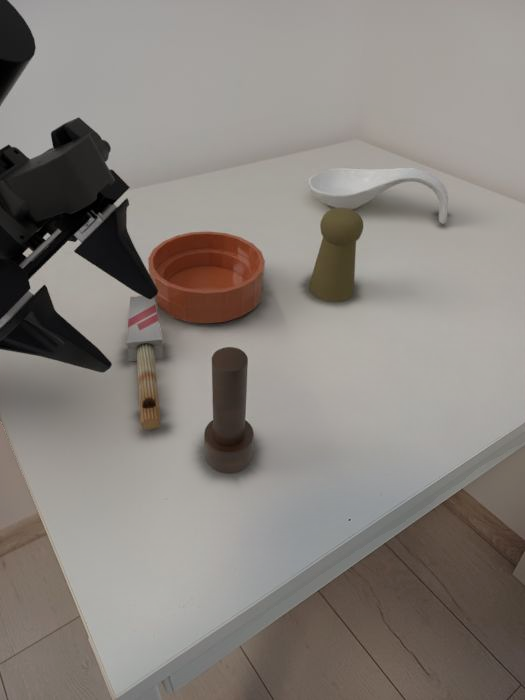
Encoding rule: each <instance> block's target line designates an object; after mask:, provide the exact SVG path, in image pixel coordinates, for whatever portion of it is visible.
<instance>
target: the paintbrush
mask: <svg viewBox="0 0 525 700" xmlns="http://www.w3.org/2000/svg"><path fill="white" fill-rule="evenodd" d="M129 298H130V299H129V308H128V319H127V332H126V347H127V356H128V362H137V380H138V395H139V396H138V398H139V413H140V414H139V415H140V416H139V417H140V426H141V428H142V429H144V430H147V431H151V430H156V429H157V428H159V427H160V426H161V424H162V418H161V410H160V401H159V399H160V398H159V389H158V379H157V368H156V359H163V358H164V357H165V356H164V349H163V341H164V340H163V334H162V330H161V325H160V320H159V314H158V310H157V304H156V303H155V299H154V298H152V299H147V298H146V297H144V296H142V295H139V296H130V297H129Z"/></svg>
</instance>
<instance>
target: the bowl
mask: <svg viewBox="0 0 525 700" xmlns="http://www.w3.org/2000/svg"><path fill="white" fill-rule="evenodd" d="M147 261H148V262H147V263H148V273H149V275H150V276H151V278H152V280H153V282H154V284H155V286H156V287H157V289H158V294H157V295H156V296H155V297H154V299H155V304H156V307H158V308H159V309H160V310H161V311H163V312H164V313H166V314H167V315H169V316H171V317H173V318H176V319H179V320H182V321H184V322H189V323H198V324H214V323H215V324H217V323H225V322H228V321H232V320H235V319H239V318H241V317H243V316H244V315H246V314H248V313H250V312H251V311H253V310H254V309H255V308H256V307H257V306H258V305H259V303H260V302H261V300H262V298H263V292H264V281H265V265H266V260H265V258H264V255H263V252H262V250H260V249H259V248H258V247H257V246H256V245H255V244H254V243H252V242H251V241H249V240H247V239H244V238H243V237H241V236H239V235H234V234H230V233H226V232H219V231H192V232H187V233H183V234H178V235H175V236H173V237H170V238H168V239H165V240H163V241H162V242H160V243H159V244H158V245H157V246H156V247H154V248H153V249H152V251H151V253H150V255H149V256H148V259H147Z"/></svg>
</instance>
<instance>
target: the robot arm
mask: <svg viewBox="0 0 525 700" xmlns="http://www.w3.org/2000/svg"><path fill="white" fill-rule="evenodd" d="M36 48H37V46H36V41H35V37H34V35H33V32H32V30H31V28H30V26H29V25H28V23H27V21H26V20H25V18H24V17H23V15H21V13H20V12H19V10H17V8H16V7H15V6H14V5H13V4H12V3H11V2H10V1H9V0H0V107H2V104H3V103H4V102H5V100H6V98H7V97H8V95H9V94H10V93H11V91H12V89H13V88H14V86H15V85H16V83H17V82H18V80H19V78H20V77H21V76H22V74H23V72H24V71H25V69H26V68H27V67H28V65H29V63H30V62H31V61H32V59H33V57H34V56H35V53H36ZM50 137H51V143H52V147H51V148H49V149H47V150H46V151H44V152H43V153H41V154H39V155H37V156H34V157H32V158H29V157H28V156H27V155H25V153H23V152H22V150H20V149H19V148H18V147H15V146H12V145H10V144H7V145H5V146H4V147H2V148H0V350H2V351H7V352H12V353H13V352H14V353H19V354H25V355H31V356H36V357H41V358H44V359H48V360H54V361H56V362H61V363H64V364H67V365H72V366H75V367H79V368H82V369H87V370H90V371H94V372H98V373H106V372H107V371H108V370H109V369H111V367H112V365H113V363H112V361H111V360H110V359H109V358H108V357H107V356H106V355H105V354H104V352H103V351H101V349H99V347H97V346H96V345H95V344H94V343H93V342H91V341H90V340H89V339H88V338H87V337H86V336H84V335H83V333H82V332H80V331H79V330H77V328H76V327H74V326H73V325H72V324H71V323H70V322H68V320H66V318H64V317H63V316H62V315H61V314H59V313H58V312H57V310H56V308H55V306H54V304H53V300H52V298H51V295H50V292H49V289H48V287H47V285H46V284H43V285H42V286H41V287H40V288H39V289H38V290H36V292H35V293H32V292H31V291H30V290H31V284H30V279H31V278H32V277H33V276H34V275H36V273H37V272H38V271H39V270H40V269H42V267H43V266H44V265H46V264H47V262H48V261H49V260H51V258H53V256H55V255H56V254H57V252H59V250H61V249H62V248H63V246H64V245H66V243H68V242H72V243H76V242H77V241H79V242H80V244H79V245H78V246H77V247H76V248H75V249H74V250H73V252H74V253H75V254H77V256H79V257H81V258H82V259H84V260H85V261H87V262H89V263H90V264H92V265H93V266H95V267H96V268H98V269H99V270H101V271H102V272H104V273H105V274H107V275H108V276H110V277H111V278H113V279H114V280H116V281H117V282H119V283H120V284H123V285H124V286H125V287H127V288H128V289H130V290H131V291H133V292H134V293H137V294H138V295H139V296H144V297H146V298H147V299H152V298H154V297H155V296H156V295H157V294H158V289H157V287H156V286H155V284H154V282H153V280H152V278H151V276H150V275H149V270H148V269H147V267H146V265H145V263H144V262H143V260H142V258H141V256H140V255H139V252H138V251H137V249H136V247H135V245H134V242H133V240H132V239H131V235H130V234H129V231H128V228H127V226H128V225H127V220H128V219H127V218H128V217H127V216H128V215H127V214H128V213H127V211H128V207H130V200H129V199H128V197H126V198H125V199H124V200H123V201H122V202H121V203H120V204H119V205H118V206H117V205H116V204H115V203H117V201H118V200H119V199H120V198H121V197H122V196H123V195H124V194H125V193H126V192H127V191H128V190H129V189H130V186H129V185H128V183H126V182H125V180H124V179H122V178H121V176H120V175H119V174H117V172H116V171H115V170H114V169H110V168H109V167H108V165H107V163H106V162H107V161H108V160H109V156H110V152H111V149H112V147H111V145H110V143H109V142H108V141H107V140H105V139H102V136H100V134H99V133H98V132H96V130H95V129H93V128H92V127H91V126H90V125H89V124H88V123H86V121H84V120H83V119H82V118H81V117H79V116H78V117H76V118H74V119H71V120H69V121H67V122H64V123H63V124H62V125H60V126H58V127H56V128H55V129H54V130H51V132H50ZM47 234H48V235H49V236H48V237H47V238H46V239H45V238H44V237H45V236H46V235H47ZM28 249H29V250H30V251H31V253H30V254H28V256H26V255H25V254H24V253H25V252H26V251H27V250H28Z"/></svg>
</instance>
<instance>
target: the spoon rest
mask: <svg viewBox="0 0 525 700" xmlns="http://www.w3.org/2000/svg"><path fill="white" fill-rule="evenodd" d="M408 182H414V183H419V184H422V185H424V186H426V187H427V188H429V189H431V191H432V192H433V193H434V194H435V195H436V197H437V199H438V202H439V203H438V204H439V209H438V223H440V224H441V225H444V224H446V223H447V219H448V214H449V210H448V209H449V193H448V191H447V188H446V186H445V184H444V183H443V182H442V181H441V180H440V179H439V178H438V177H437V176H436V175H433V174H432V173H430V172H428V171H425V170H424V169H423V170H422V169H419V168H415V167H396V168H395V167H394V168H378V169H377V168H352V167H351V168H350V167H337V168H335V167H334V168H328V169H324V170H320V171H318V172H315V173H313V174H312V175H311V177H310V178H309V179H308V183H307V186H308V188H309V190H310V192H311V193H312V195H313V196H314V197H315V198H316V199H317V200H318V201H319V202H321V203H322V204H325V205H327V206H329V207H331V208H332V209H335V208H346V209H350V210H353V211H354V210H356V209H358V208H359V209H360V207H362V206H363V205H365V204H367V203H368V202H370V201H371V200H373V199H374V198H376V197H377V196H379V195H380V194H382V193H384V192H385V191H387V190H389V189H391V188H392V187H395V186H397V185H399V184H402V183H408Z"/></svg>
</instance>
